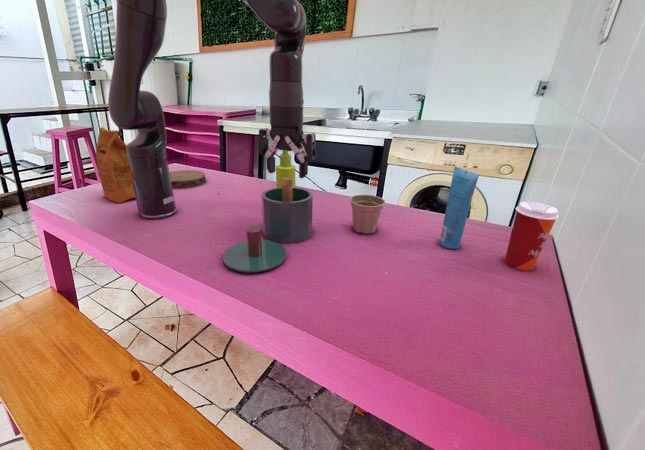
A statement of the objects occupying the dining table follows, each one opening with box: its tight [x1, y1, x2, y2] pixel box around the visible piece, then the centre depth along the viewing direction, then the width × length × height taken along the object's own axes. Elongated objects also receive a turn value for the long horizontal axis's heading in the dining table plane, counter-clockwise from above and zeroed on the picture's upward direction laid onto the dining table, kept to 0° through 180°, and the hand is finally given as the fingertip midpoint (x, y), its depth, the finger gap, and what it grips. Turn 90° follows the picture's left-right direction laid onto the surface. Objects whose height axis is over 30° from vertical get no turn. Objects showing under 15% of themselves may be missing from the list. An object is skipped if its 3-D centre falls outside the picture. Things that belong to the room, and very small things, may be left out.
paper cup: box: [504, 201, 560, 272], centre depth 66 cm, size 8×8×14 cm
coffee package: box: [95, 126, 136, 203], centre depth 96 cm, size 10×12×22 cm
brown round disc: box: [169, 169, 207, 190], centre depth 117 cm, size 16×16×3 cm
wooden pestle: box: [282, 178, 293, 202], centre depth 77 cm, size 4×4×14 cm
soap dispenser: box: [275, 150, 296, 188], centre depth 94 cm, size 6×7×20 cm
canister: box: [260, 186, 314, 244], centre depth 78 cm, size 13×13×11 cm
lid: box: [222, 226, 287, 273], centre depth 66 cm, size 14×14×7 cm
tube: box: [438, 166, 480, 250], centre depth 72 cm, size 7×5×19 cm, turn 26°
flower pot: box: [349, 194, 386, 235], centre depth 81 cm, size 9×9×9 cm
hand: (287, 175), depth 74 cm, fingers open, 8 cm apart
